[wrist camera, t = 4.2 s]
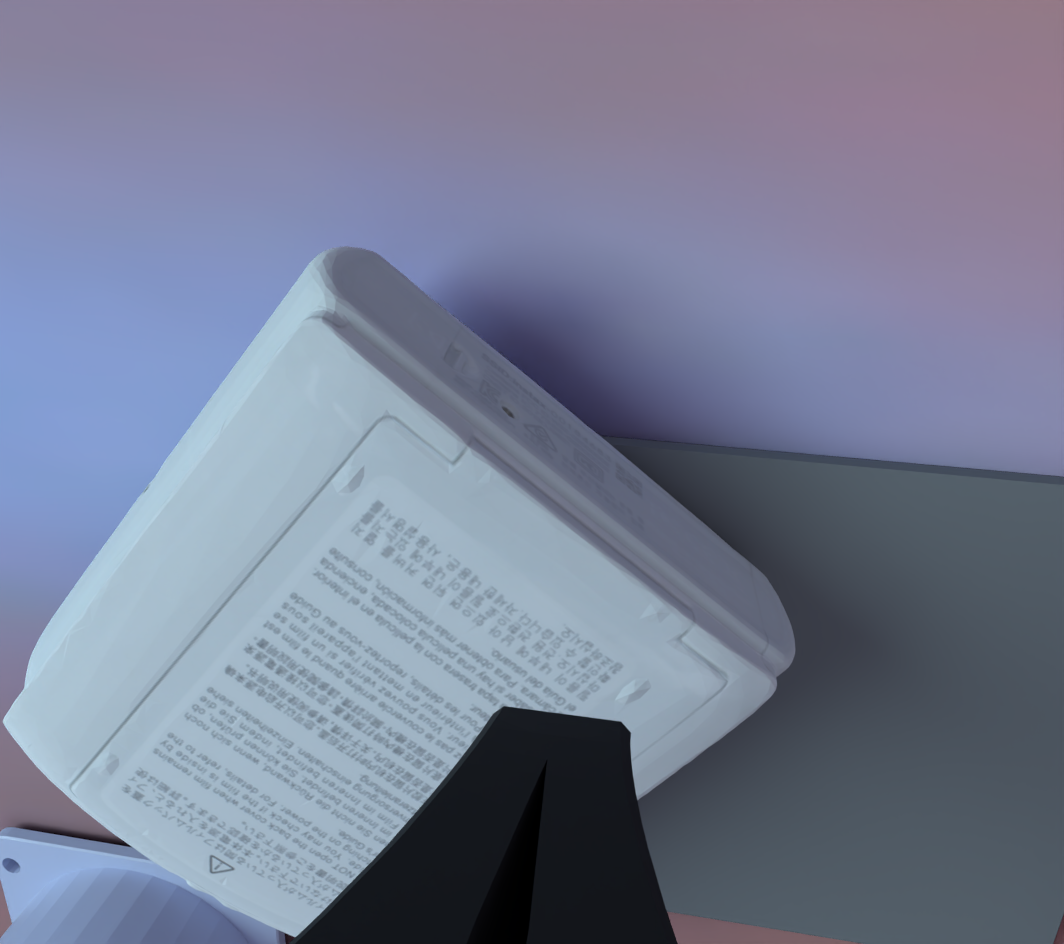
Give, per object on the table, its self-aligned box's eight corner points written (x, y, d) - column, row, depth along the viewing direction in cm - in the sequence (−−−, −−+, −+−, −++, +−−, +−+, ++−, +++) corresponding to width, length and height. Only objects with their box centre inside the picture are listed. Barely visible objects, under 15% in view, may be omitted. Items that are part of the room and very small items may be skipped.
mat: (1036, 957, 20) (1042, 972, 20) (316, 841, 23) (310, 853, 22) (1199, 488, 16) (1211, 498, 15) (281, 407, 18) (273, 413, 18)
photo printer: (356, 211, 15) (49, 644, 20) (268, 273, 11) (-85, 789, 16) (785, 561, 18) (416, 875, 22) (831, 710, 14) (374, 1050, 19)
